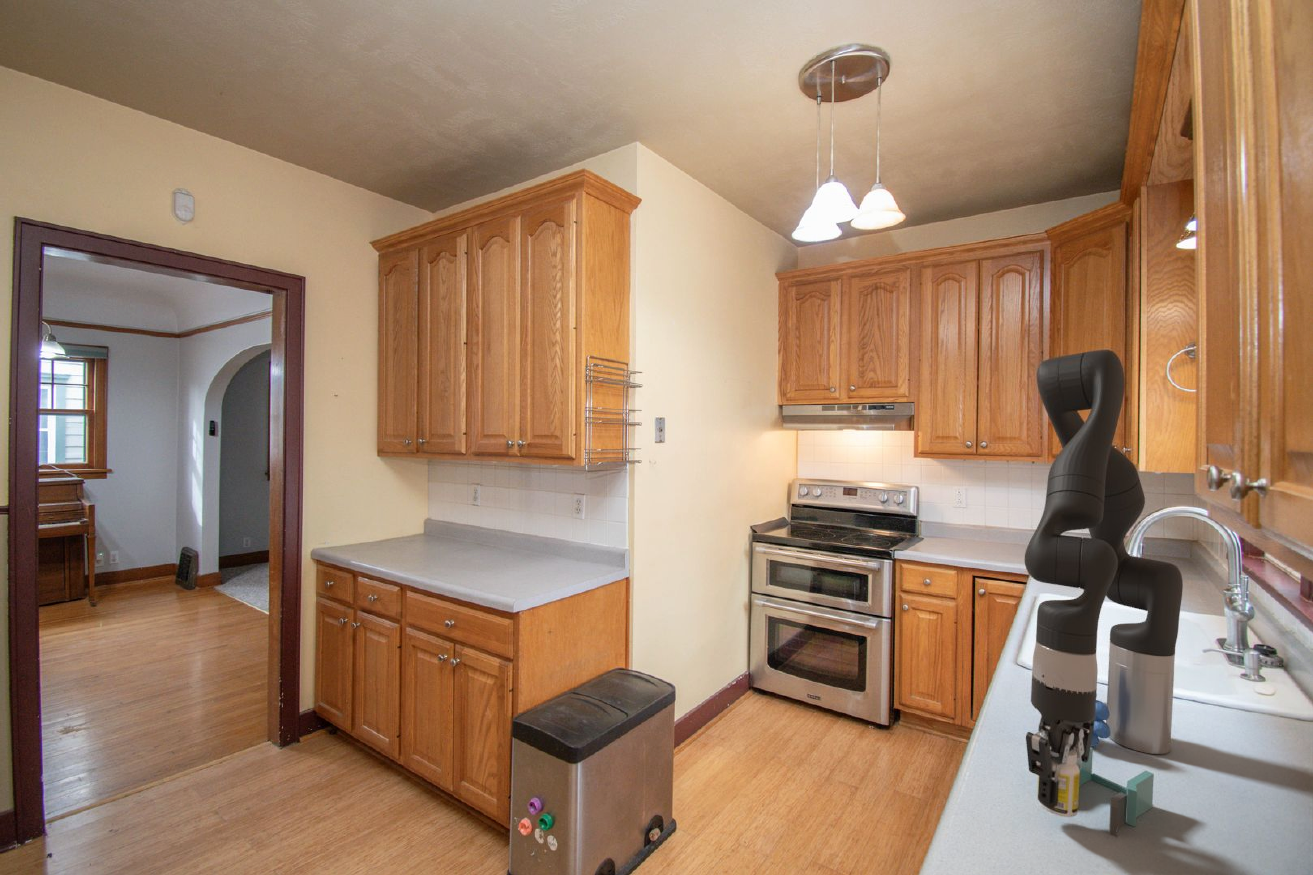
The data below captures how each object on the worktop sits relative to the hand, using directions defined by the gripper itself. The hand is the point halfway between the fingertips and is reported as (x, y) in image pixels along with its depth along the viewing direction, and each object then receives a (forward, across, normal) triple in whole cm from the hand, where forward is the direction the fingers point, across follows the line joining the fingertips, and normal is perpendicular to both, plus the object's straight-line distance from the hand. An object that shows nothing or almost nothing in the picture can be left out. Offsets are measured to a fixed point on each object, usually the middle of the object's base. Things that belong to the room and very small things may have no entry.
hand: (1057, 797), depth 85 cm
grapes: (+4, -28, -11) cm, 31 cm away
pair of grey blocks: (+4, -7, 0) cm, 8 cm away
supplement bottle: (+2, 0, 0) cm, 2 cm away
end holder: (+4, -15, 0) cm, 15 cm away
